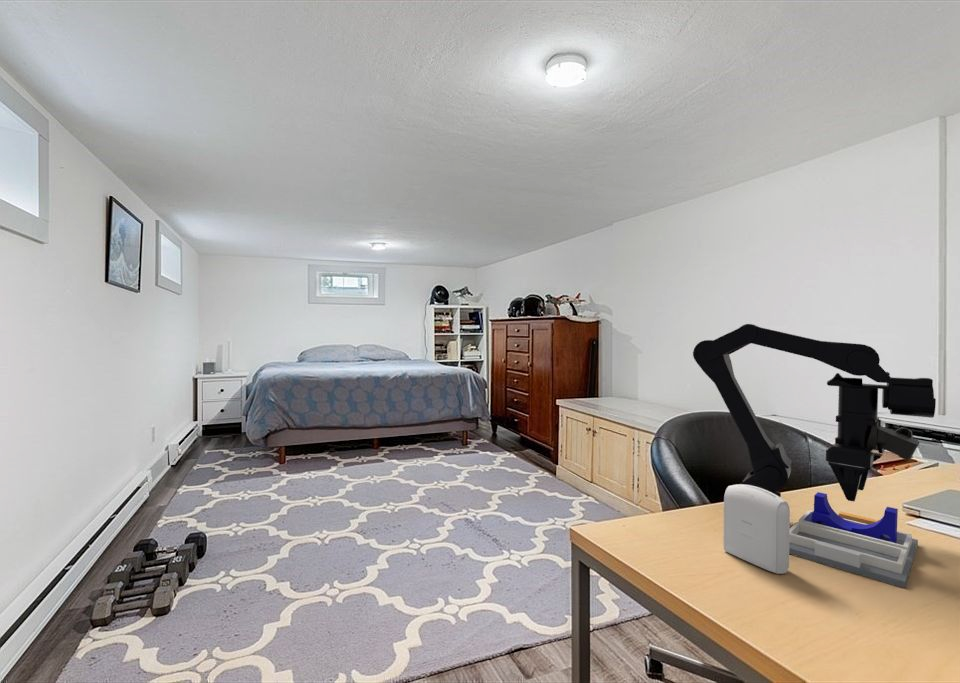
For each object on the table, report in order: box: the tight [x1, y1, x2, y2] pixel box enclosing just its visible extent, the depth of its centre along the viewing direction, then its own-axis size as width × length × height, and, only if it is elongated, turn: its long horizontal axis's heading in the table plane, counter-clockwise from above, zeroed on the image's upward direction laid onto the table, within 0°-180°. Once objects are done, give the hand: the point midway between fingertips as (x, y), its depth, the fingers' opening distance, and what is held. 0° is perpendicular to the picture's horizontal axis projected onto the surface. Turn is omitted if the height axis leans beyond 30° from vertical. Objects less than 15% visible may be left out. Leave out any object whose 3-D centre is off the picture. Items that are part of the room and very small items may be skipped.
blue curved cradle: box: [812, 491, 899, 543], centre depth 89 cm, size 12×4×6 cm, turn 44°
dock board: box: [789, 509, 919, 589], centre depth 86 cm, size 22×17×3 cm
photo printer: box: [723, 483, 791, 575], centre depth 80 cm, size 10×4×12 cm, turn 26°
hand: (855, 495), depth 88 cm, fingers open, 9 cm apart
